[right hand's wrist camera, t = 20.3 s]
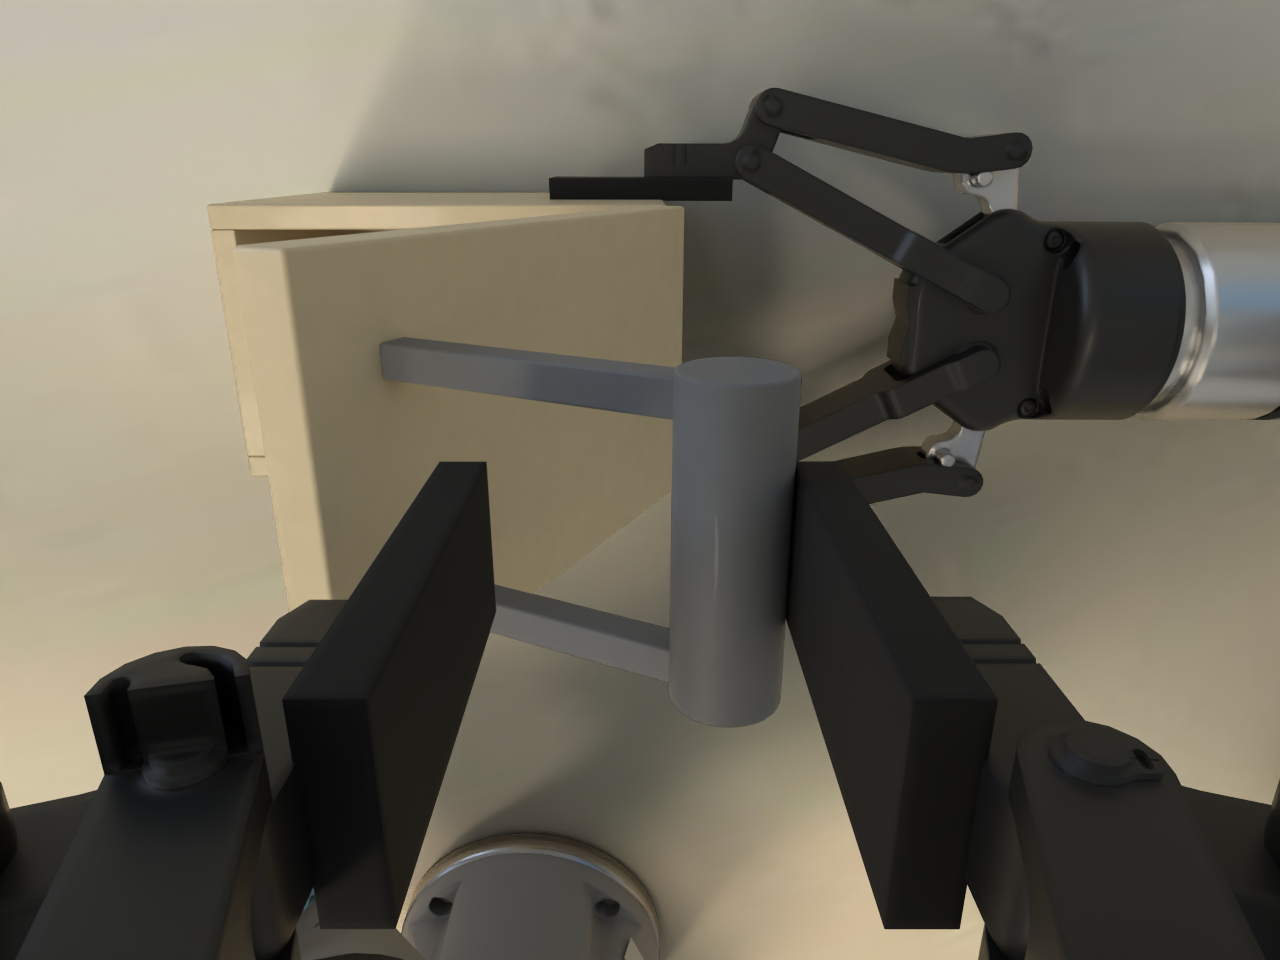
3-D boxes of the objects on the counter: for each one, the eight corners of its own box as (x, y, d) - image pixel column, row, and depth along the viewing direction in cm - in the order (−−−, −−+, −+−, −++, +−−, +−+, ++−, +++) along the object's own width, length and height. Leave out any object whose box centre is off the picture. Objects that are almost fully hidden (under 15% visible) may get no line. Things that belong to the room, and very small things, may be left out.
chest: (347, 396, 41) (250, 477, 31) (323, 192, 38) (206, 204, 27) (655, 395, 41) (664, 476, 31) (656, 192, 38) (667, 204, 28)
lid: (303, 718, 17) (724, 876, 14) (229, 245, 14) (752, 277, 10) (649, 479, 30) (914, 525, 26) (650, 205, 27) (951, 212, 23)
